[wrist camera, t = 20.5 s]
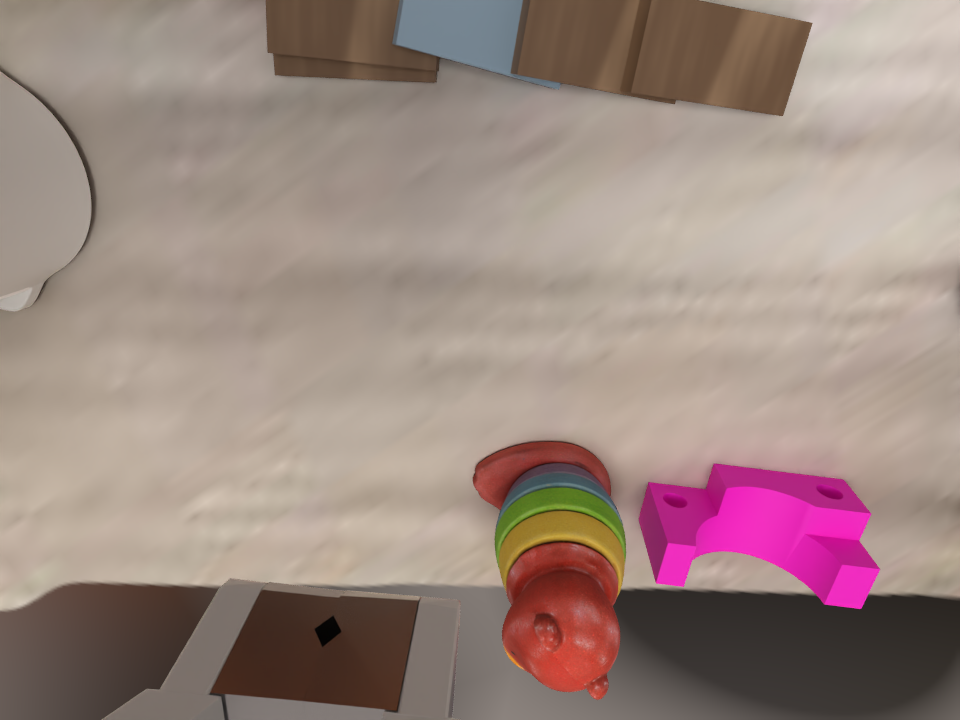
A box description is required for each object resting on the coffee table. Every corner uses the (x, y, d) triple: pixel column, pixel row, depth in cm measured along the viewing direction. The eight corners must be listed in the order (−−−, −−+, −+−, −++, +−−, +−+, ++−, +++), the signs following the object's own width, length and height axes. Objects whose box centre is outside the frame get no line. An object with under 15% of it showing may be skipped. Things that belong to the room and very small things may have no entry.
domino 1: (438, 70, 39) (277, 53, 39) (444, -24, 37) (274, -42, 37) (435, 70, 37) (267, 52, 37) (441, -28, 35) (264, -47, 35)
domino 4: (662, 102, 39) (510, 73, 37) (686, 12, 37) (527, -25, 35) (674, 104, 38) (517, 74, 35) (700, 10, 36) (535, -28, 33)
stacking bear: (463, 467, 51) (438, 647, 35) (572, 412, 49) (599, 578, 33) (531, 557, 55) (536, 759, 39) (636, 510, 52) (689, 705, 36)
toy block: (842, 478, 50) (893, 541, 43) (816, 539, 53) (860, 608, 46) (654, 454, 50) (676, 514, 43) (638, 517, 53) (656, 583, 46)
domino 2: (437, 82, 40) (283, 75, 41) (439, -8, 38) (276, -14, 39) (434, 82, 39) (275, 75, 39) (435, -11, 37) (267, -18, 37)
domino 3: (549, 87, 39) (392, 44, 36) (573, -2, 37) (409, -57, 34) (559, 89, 38) (396, 44, 35) (584, -4, 36) (413, -61, 33)
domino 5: (766, 113, 39) (619, 90, 37) (794, 23, 37) (640, -7, 35) (782, 116, 38) (631, 92, 36) (812, 23, 36) (653, -9, 33)
